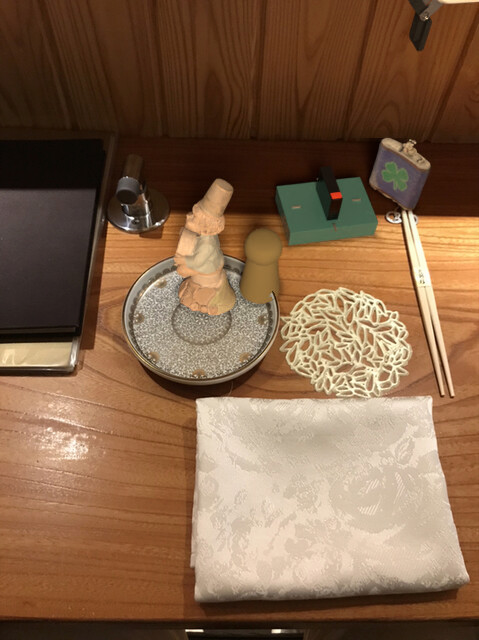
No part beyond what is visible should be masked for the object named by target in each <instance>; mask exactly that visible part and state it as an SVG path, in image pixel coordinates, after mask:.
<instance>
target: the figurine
mask: <svg viewBox="0 0 479 640" xmlns="http://www.w3.org/2000/svg"><path fill="white" fill-rule="evenodd" d="M233 193H234V187H233V186H232V185H231V184H230V183H229V182H228V181H226V180H224V179H222V178H216V179H215V180H214V181H213V183H212V184H211V185H210V187H209V188H208V190H207V191H206V193H205V195H204V196H203V198H201V199H200V200H199V201H198V202H197V203H195V204H194V205H193V207H192V211H189V212H188V213H186V214H185V216H186V218H185V219H186V220H185V224H184V226H182V227H181V228H180V229H179V232H178V236H179V239H178V242H177V244H176V249H175V254H174V255H173V257H172V258H173V259H172V260H173V261H174V262H173V266H175V267H176V269H175V271H176V273H177V274H178V275H179V276H180V277H182V278H184V280H183V281H182V282H181V284H180V285H179V288H178V295H177V297H178V298H179V303H180V304H181V305H184V306H185V307H186V308H189V309H190V310H191V311H193V312H201V313H202V314H208V315H210V316H220V315H221V314H224V313H226V312H229V311H230V310H232V309H233V308H234V306H235V304H236V301H237V297H236V292H235V291H234V288H232V287H231V285H230V283H229V280H228V277H227V275H228V273H227V271H226V269H225V268H224V265H225V256H224V252H223V250H222V249H221V242H220V238H219V234H220V233H221V232H222V231H224V229H225V224H226V218H225V215H224V212H225V210H226V208H227V206H228V204H229V202H230V200H231V198H232V195H233Z"/></svg>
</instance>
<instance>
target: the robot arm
mask: <svg viewBox="0 0 479 640" xmlns="http://www.w3.org/2000/svg"><path fill="white" fill-rule="evenodd" d="M407 1H408V3H409V5H410V6H411V8H412V9H413V11H414V14H413V19H412V22H411V25H410V29H409V32H408V38H409V40H410V42H411V44H412V45H413V47H414V48H415V50H416V52H422V51H423V50H425V47H426V43H427V39H428V36H429V34H430V30H431V27H432V24H433V21H432V18H431V17H432V16H433V15H434V14H435V13H436V12H437V11H438V10H439V9H440V8H441V7H443V5H457V4H471V3H479V0H407Z"/></svg>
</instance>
